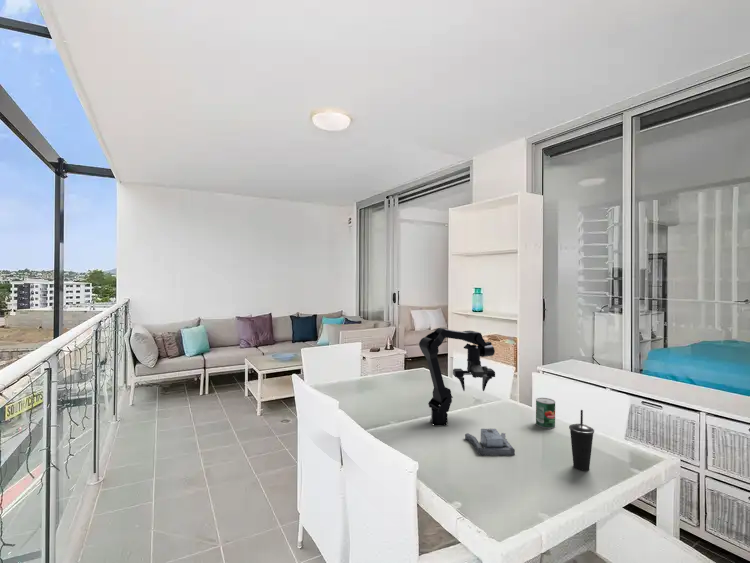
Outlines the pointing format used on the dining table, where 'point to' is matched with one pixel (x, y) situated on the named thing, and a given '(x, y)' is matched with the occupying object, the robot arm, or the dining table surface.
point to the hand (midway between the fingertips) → (473, 390)
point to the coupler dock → (491, 451)
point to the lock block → (491, 438)
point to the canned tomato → (545, 412)
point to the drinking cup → (581, 444)
